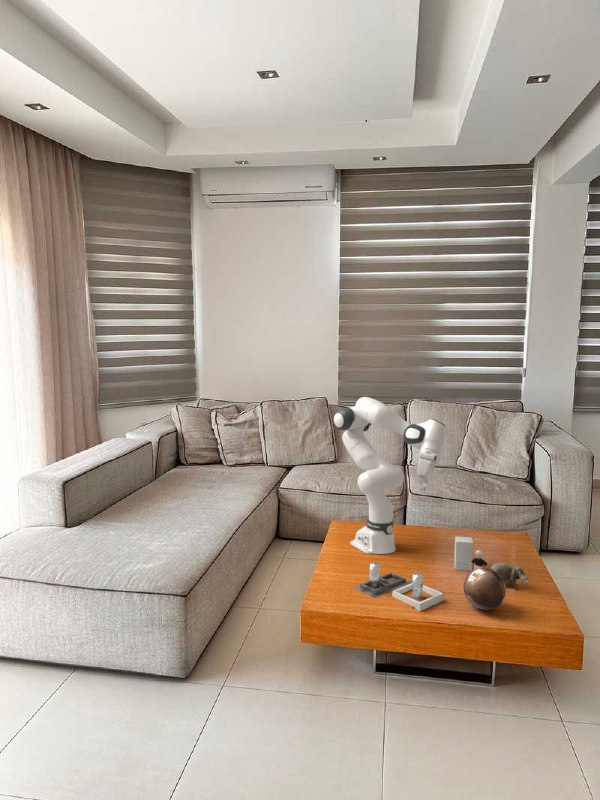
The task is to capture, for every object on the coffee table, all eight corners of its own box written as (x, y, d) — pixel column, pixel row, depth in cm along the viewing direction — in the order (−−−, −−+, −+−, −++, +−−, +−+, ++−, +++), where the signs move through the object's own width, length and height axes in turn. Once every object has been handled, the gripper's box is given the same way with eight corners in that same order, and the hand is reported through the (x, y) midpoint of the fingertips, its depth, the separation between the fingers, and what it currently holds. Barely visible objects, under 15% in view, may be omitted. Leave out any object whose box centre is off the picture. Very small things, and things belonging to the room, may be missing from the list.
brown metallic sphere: (454, 606, 225) (455, 567, 224) (479, 595, 234) (480, 558, 233) (488, 621, 213) (490, 581, 212) (513, 609, 223) (514, 570, 221)
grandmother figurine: (468, 580, 248) (469, 550, 247) (469, 576, 252) (470, 547, 250) (487, 582, 246) (489, 553, 244) (488, 579, 249) (489, 549, 248)
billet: (410, 599, 231) (410, 574, 230) (416, 596, 233) (417, 571, 232) (418, 603, 228) (418, 577, 227) (424, 600, 230) (425, 575, 229)
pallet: (353, 589, 240) (353, 583, 239) (390, 575, 253) (390, 569, 253) (374, 600, 230) (375, 594, 230) (412, 584, 244) (412, 578, 244)
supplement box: (472, 571, 257) (473, 542, 256) (454, 569, 259) (455, 541, 257) (471, 564, 265) (472, 537, 263) (454, 563, 266) (454, 535, 265)
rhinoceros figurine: (486, 570, 251) (507, 548, 244) (512, 594, 247) (535, 572, 240) (480, 578, 245) (502, 555, 238) (507, 603, 241) (530, 581, 233)
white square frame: (392, 598, 232) (392, 591, 231) (415, 588, 240) (415, 581, 240) (419, 611, 221) (419, 603, 221) (442, 600, 230) (443, 593, 229)
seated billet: (367, 588, 239) (367, 563, 238) (374, 585, 241) (374, 561, 240) (374, 591, 236) (375, 567, 235) (381, 588, 238) (382, 564, 237)
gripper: (425, 458, 264) (417, 489, 262) (418, 452, 245) (410, 485, 243) (439, 462, 262) (431, 493, 260) (434, 455, 243) (425, 489, 241)
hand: (421, 489), depth 252 cm, fingers open, 8 cm apart
